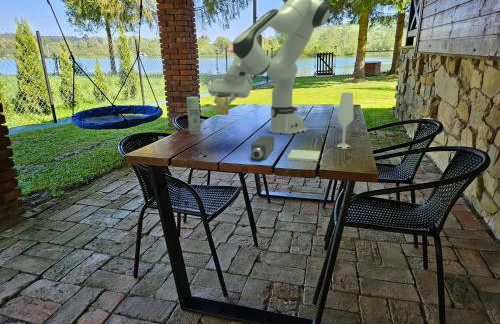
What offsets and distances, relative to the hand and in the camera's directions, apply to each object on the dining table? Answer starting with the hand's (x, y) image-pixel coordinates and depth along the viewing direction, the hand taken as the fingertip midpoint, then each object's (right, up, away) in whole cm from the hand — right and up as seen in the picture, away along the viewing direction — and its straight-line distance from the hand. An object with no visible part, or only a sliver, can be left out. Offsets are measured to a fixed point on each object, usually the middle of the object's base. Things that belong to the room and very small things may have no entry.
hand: (221, 103), depth 129 cm
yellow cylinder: (0, -4, +2) cm, 5 cm away
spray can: (-19, -8, +45) cm, 50 cm away
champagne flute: (+55, -18, +12) cm, 59 cm away
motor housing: (+18, -21, +2) cm, 28 cm away
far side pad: (+34, -23, -3) cm, 41 cm away
